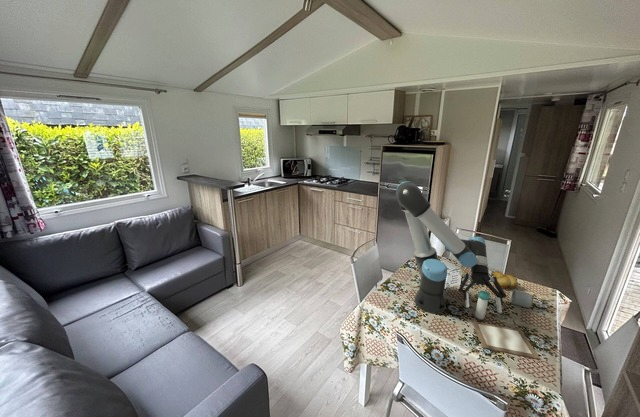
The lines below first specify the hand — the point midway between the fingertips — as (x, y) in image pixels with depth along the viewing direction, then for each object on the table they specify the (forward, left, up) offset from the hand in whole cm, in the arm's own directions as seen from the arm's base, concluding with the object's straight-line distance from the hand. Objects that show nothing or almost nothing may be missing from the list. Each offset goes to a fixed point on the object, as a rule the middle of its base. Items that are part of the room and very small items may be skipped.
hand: (483, 309), depth 120 cm
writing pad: (+6, -10, -6) cm, 13 cm away
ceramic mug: (+24, +21, -7) cm, 33 cm away
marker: (0, +2, -6) cm, 7 cm away
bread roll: (+23, +37, -7) cm, 45 cm away
